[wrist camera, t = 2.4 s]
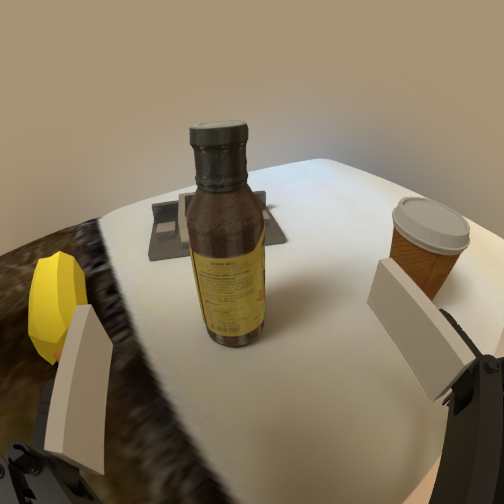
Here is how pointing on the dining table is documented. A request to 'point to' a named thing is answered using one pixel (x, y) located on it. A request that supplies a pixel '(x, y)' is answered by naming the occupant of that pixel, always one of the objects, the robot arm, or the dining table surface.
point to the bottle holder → (176, 233)
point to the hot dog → (54, 303)
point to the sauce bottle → (226, 234)
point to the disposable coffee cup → (427, 241)
